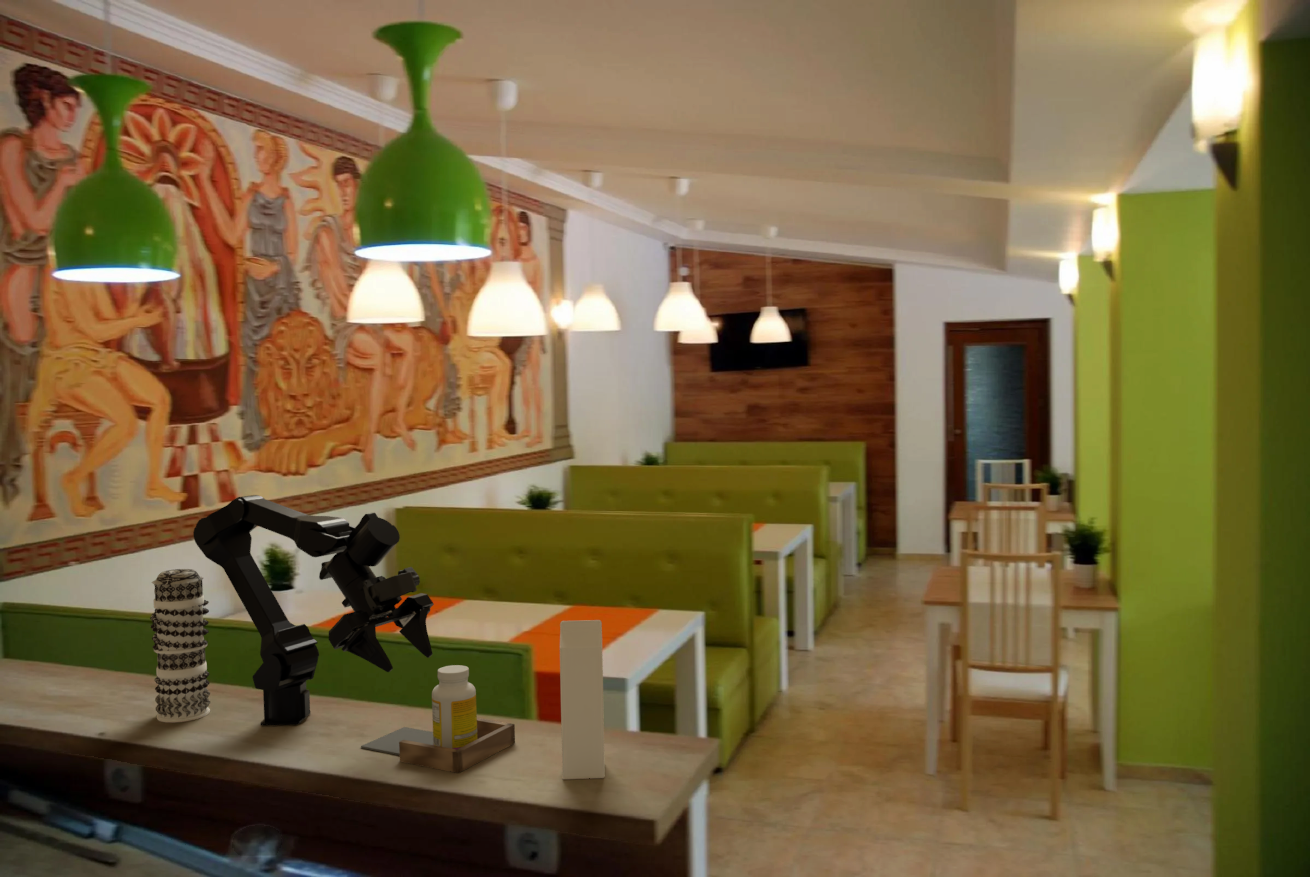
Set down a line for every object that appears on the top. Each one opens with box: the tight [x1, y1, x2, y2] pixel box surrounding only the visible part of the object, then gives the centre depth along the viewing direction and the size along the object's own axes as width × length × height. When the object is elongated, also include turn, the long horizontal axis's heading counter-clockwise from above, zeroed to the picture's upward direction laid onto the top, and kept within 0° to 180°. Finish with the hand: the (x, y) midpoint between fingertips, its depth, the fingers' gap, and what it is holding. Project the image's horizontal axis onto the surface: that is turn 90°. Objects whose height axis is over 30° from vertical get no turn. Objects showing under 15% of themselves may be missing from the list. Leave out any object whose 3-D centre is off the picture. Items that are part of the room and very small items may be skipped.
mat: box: [360, 726, 433, 756], centre depth 164 cm, size 10×10×1 cm
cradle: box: [399, 717, 516, 774], centre depth 159 cm, size 11×14×3 cm
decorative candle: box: [149, 568, 211, 723], centre depth 180 cm, size 9×9×25 cm
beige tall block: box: [559, 619, 606, 780], centre depth 150 cm, size 6×6×22 cm
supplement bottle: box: [431, 664, 478, 749], centre depth 159 cm, size 7×7×13 cm
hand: (411, 663), depth 163 cm, fingers open, 9 cm apart
